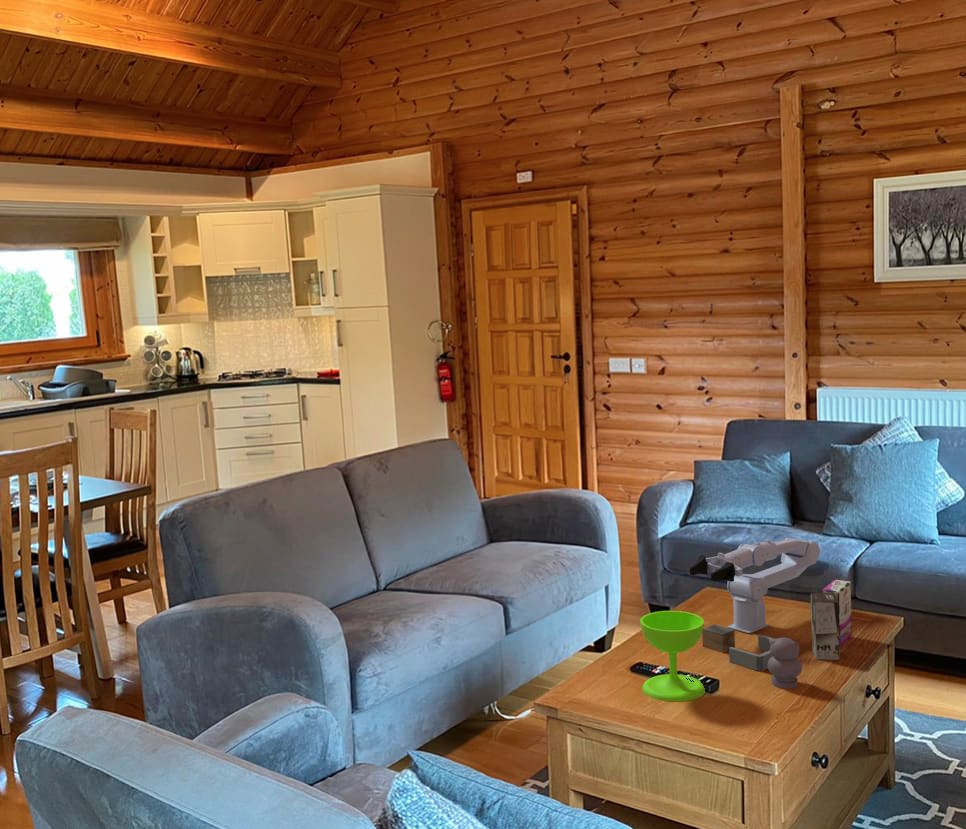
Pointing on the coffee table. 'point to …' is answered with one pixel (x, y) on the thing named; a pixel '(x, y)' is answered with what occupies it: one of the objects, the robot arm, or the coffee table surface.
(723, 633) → the brown block
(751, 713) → the coffee table surface
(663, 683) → the wineglass
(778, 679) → the grey stacked figurine
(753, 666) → the bay
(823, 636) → the coffee box
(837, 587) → the candy bar box
